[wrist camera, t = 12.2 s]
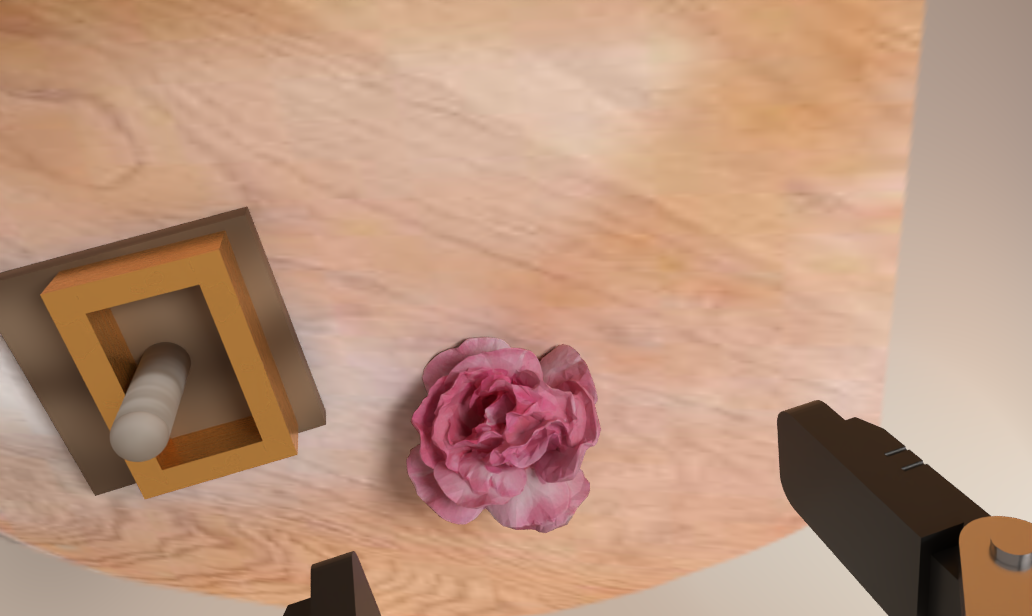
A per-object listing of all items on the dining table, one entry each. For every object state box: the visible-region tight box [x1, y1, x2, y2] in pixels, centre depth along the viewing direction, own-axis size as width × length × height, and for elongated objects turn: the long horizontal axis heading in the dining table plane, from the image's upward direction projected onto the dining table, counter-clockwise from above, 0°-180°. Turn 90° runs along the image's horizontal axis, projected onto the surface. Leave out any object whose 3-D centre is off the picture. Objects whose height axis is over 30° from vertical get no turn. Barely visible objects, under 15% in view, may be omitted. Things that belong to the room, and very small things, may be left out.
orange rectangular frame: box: [40, 230, 298, 499], centre depth 39 cm, size 12×8×3 cm, turn 10°
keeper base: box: [0, 207, 326, 496], centre depth 37 cm, size 13×13×10 cm
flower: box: [406, 337, 601, 533], centre depth 44 cm, size 11×10×10 cm
